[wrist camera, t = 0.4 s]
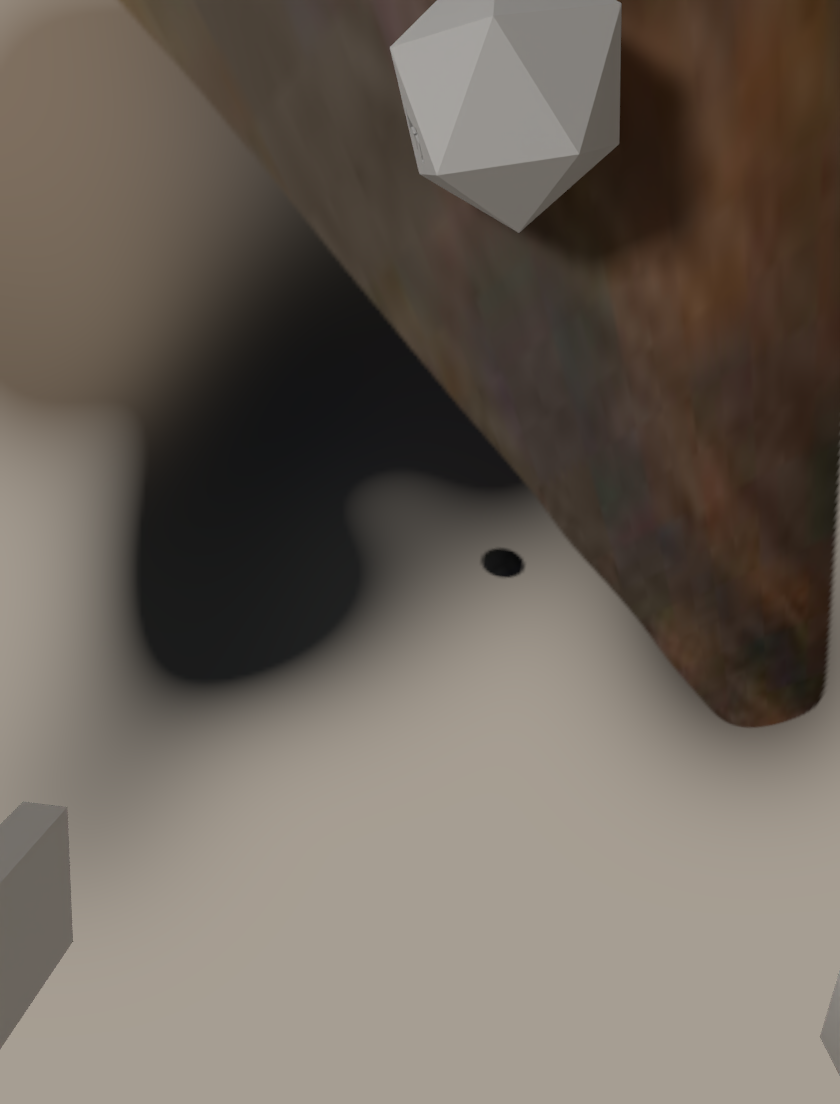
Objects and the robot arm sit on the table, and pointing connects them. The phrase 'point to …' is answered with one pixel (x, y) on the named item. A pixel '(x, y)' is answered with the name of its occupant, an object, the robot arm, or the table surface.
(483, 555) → the table surface
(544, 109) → the die
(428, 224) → the table surface
